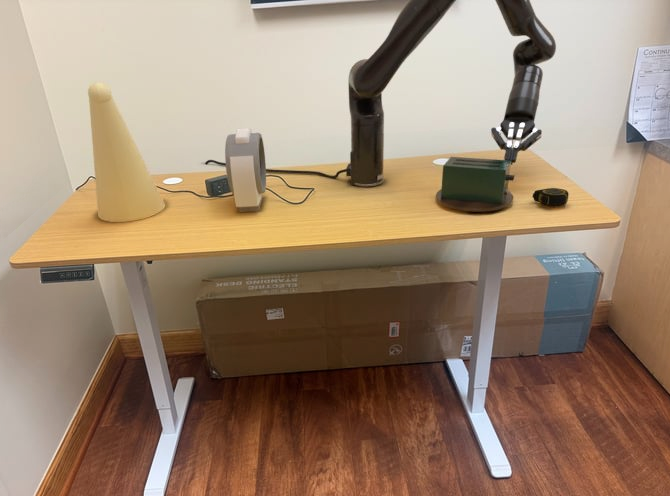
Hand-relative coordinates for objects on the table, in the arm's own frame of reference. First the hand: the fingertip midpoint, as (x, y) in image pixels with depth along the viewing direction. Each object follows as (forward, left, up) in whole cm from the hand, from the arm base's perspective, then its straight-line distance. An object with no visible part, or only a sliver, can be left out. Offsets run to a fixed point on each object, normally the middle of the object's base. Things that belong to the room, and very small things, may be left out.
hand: (509, 163), depth 136 cm
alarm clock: (-67, -10, -9) cm, 69 cm away
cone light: (-99, -18, -9) cm, 101 cm away
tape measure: (+10, -7, -9) cm, 15 cm away
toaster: (-8, -5, -8) cm, 13 cm away
